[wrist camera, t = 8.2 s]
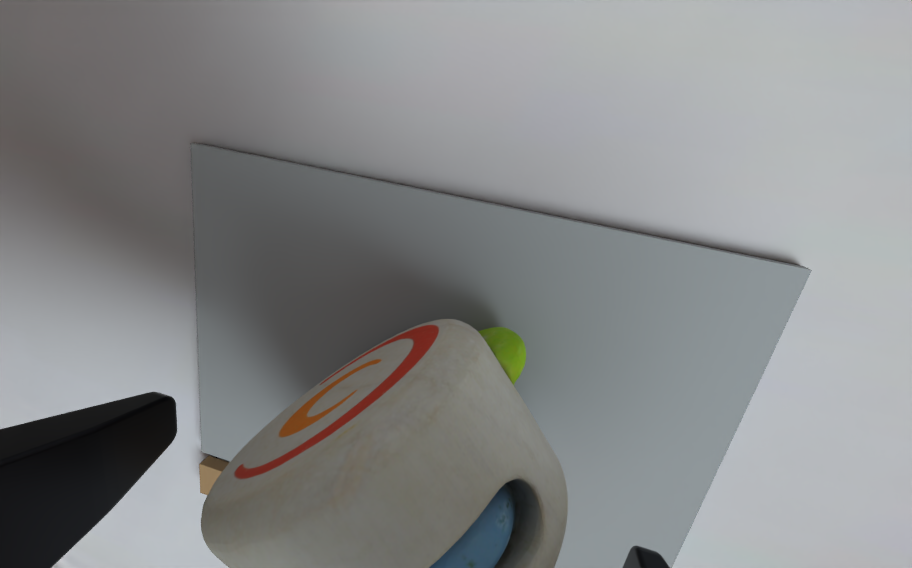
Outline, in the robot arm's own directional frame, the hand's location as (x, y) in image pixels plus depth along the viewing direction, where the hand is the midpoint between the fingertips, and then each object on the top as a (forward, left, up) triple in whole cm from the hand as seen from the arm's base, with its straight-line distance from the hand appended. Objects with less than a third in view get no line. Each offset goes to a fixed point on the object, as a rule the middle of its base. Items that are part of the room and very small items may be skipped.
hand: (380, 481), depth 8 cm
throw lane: (0, 0, -4) cm, 4 cm away
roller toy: (0, 0, -4) cm, 4 cm away
